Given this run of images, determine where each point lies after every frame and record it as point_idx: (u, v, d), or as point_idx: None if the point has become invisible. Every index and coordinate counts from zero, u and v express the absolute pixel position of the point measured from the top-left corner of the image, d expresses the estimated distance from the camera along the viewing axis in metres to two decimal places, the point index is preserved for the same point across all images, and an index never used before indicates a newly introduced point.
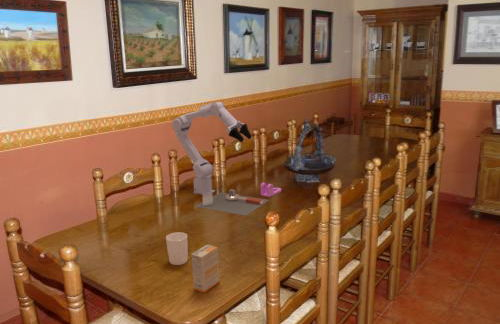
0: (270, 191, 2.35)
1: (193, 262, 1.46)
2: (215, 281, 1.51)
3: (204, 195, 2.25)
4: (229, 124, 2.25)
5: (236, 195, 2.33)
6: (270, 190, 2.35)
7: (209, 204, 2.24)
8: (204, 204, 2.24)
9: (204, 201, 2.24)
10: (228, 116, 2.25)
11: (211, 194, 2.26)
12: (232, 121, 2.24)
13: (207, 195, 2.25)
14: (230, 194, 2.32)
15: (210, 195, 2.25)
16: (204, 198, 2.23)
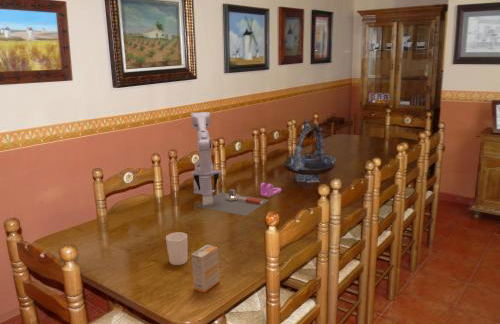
0: (270, 191, 2.35)
1: (193, 262, 1.46)
2: (215, 281, 1.51)
3: (204, 195, 2.25)
4: (200, 168, 2.22)
5: (236, 195, 2.33)
6: (270, 190, 2.35)
7: (209, 204, 2.24)
8: (204, 204, 2.24)
9: (204, 201, 2.24)
10: (202, 162, 2.19)
11: (211, 194, 2.26)
12: (201, 169, 2.20)
13: (207, 195, 2.25)
14: (230, 194, 2.32)
15: (210, 195, 2.25)
16: (204, 198, 2.23)
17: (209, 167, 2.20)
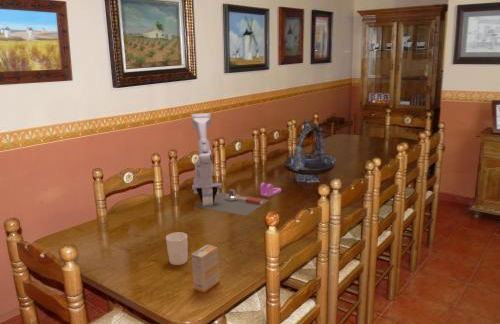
0: (270, 191, 2.35)
1: (193, 262, 1.46)
2: (215, 281, 1.51)
3: (204, 195, 2.25)
4: (201, 181, 2.23)
5: (236, 195, 2.33)
6: (270, 190, 2.35)
7: (209, 204, 2.24)
8: (204, 204, 2.24)
9: (204, 201, 2.24)
10: (203, 176, 2.20)
11: (211, 194, 2.26)
12: (202, 182, 2.22)
13: (207, 195, 2.25)
14: (230, 194, 2.32)
15: (210, 195, 2.25)
16: (204, 198, 2.23)
17: (210, 180, 2.22)
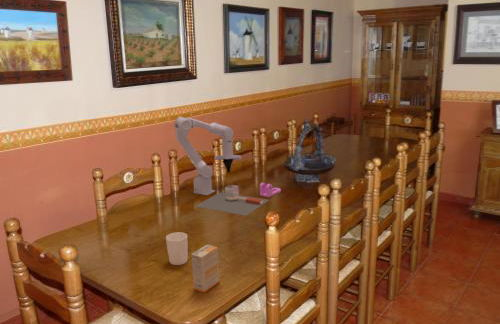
0: (269, 191, 2.35)
1: (193, 262, 1.46)
2: (215, 281, 1.51)
3: (228, 186, 2.32)
4: None
5: None
6: (269, 190, 2.35)
7: (230, 195, 2.30)
8: (226, 194, 2.31)
9: (226, 191, 2.31)
10: (232, 146, 2.46)
11: (235, 186, 2.31)
12: (223, 153, 2.46)
13: (230, 187, 2.31)
14: None
15: (233, 187, 2.30)
16: (226, 189, 2.30)
17: (230, 152, 2.45)
